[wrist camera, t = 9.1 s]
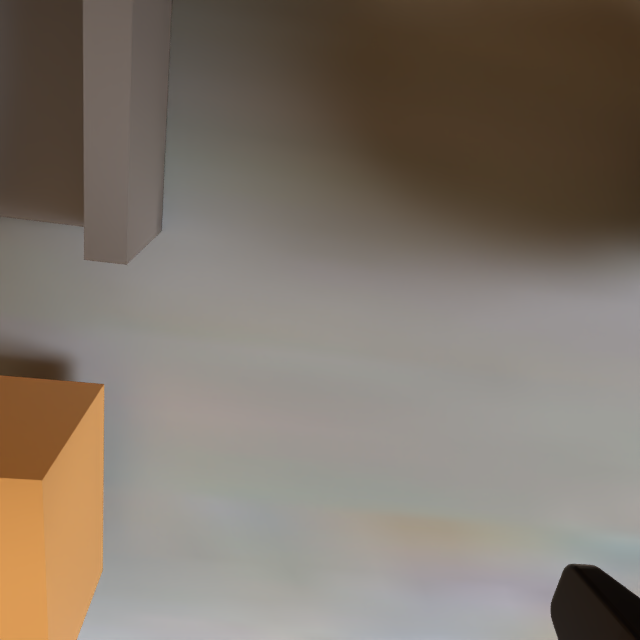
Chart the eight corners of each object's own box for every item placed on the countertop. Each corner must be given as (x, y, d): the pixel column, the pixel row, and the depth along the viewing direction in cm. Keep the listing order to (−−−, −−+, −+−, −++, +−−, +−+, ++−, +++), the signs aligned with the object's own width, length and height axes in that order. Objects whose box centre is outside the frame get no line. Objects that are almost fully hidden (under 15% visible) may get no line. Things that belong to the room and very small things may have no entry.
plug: (-26, 373, 16) (-143, 469, 12) (104, 384, 17) (42, 480, 12) (1, 692, 21) (-74, 850, 17) (101, 693, 22) (56, 846, 17)
